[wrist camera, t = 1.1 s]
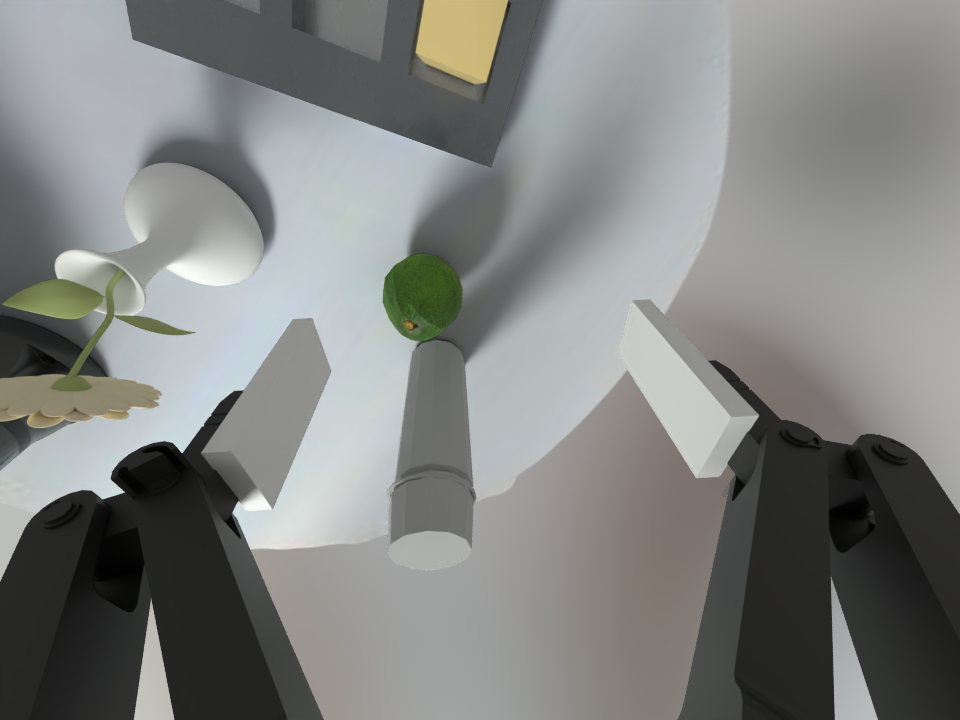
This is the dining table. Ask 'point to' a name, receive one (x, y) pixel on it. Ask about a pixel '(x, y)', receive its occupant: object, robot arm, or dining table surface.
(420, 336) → the avocado
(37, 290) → the flower in vase
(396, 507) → the water bottle
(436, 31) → the yellow tall block
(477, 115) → the jack panel
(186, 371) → the dining table surface
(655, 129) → the dining table surface
